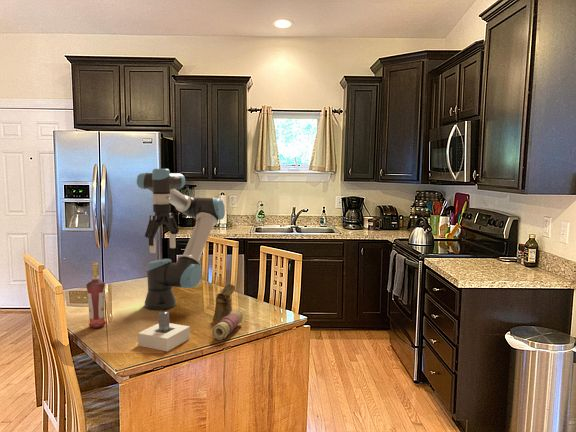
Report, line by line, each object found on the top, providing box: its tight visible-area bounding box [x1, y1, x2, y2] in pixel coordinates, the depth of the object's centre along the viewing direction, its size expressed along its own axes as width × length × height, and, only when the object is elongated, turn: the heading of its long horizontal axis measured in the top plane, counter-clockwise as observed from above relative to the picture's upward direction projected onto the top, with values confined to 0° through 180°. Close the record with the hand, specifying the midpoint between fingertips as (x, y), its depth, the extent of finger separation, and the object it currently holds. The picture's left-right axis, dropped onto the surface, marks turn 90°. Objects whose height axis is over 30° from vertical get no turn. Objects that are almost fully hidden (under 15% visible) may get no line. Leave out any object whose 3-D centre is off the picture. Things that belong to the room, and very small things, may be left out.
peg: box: [158, 310, 170, 333], centre depth 171 cm, size 4×4×12 cm
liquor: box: [86, 262, 107, 329], centre depth 187 cm, size 7×7×28 cm
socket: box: [137, 322, 191, 352], centre depth 171 cm, size 14×14×5 cm
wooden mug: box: [212, 284, 236, 322], centre depth 197 cm, size 9×14×18 cm, turn 29°
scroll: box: [211, 308, 244, 341], centre depth 183 cm, size 8×8×20 cm
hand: (163, 250), depth 195 cm, fingers open, 13 cm apart
